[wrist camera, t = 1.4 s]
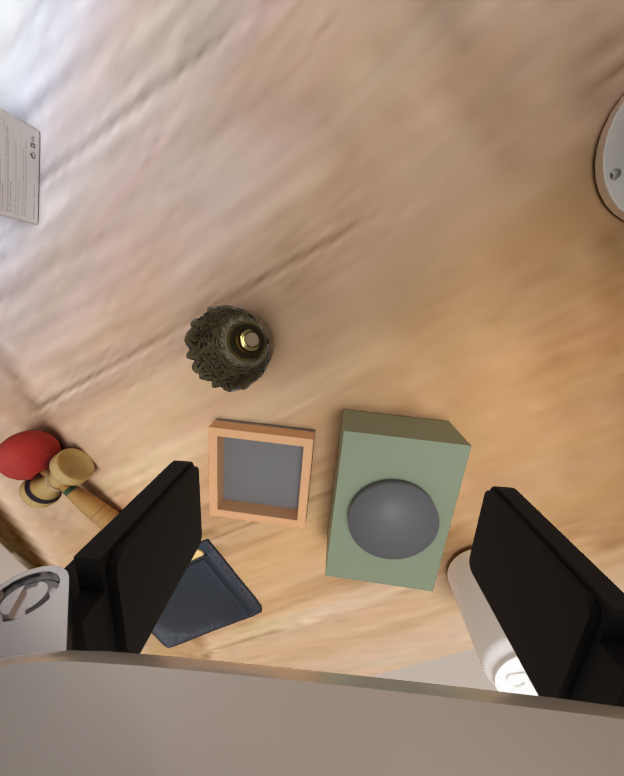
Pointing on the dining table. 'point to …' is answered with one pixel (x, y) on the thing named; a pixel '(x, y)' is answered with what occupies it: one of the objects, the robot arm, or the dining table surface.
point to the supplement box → (18, 169)
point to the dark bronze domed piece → (228, 347)
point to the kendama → (51, 474)
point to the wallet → (205, 599)
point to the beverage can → (487, 631)
